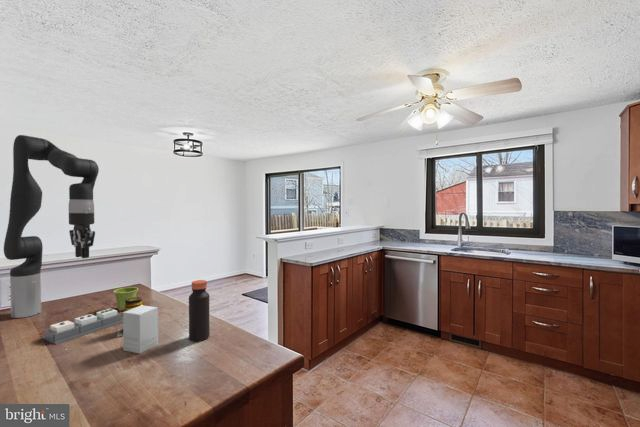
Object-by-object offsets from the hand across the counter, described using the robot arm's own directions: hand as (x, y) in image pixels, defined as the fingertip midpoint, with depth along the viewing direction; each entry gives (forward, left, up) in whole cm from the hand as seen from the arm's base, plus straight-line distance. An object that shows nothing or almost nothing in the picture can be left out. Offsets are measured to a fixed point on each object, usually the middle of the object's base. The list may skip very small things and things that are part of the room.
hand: (82, 257), depth 112 cm
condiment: (+18, +7, -28) cm, 34 cm away
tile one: (+2, -7, -25) cm, 26 cm away
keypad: (+2, 0, -27) cm, 27 cm away
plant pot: (-8, +20, -28) cm, 35 cm away
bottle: (+45, +15, -27) cm, 55 cm away
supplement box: (+34, +1, -28) cm, 44 cm away
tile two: (+2, 0, -25) cm, 25 cm away
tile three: (+2, +7, -25) cm, 26 cm away
